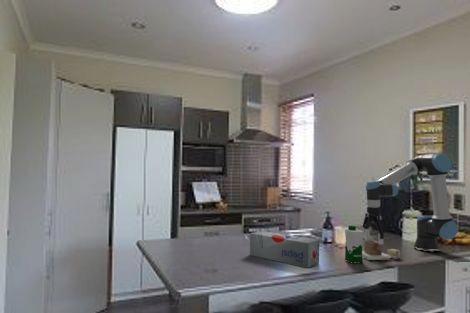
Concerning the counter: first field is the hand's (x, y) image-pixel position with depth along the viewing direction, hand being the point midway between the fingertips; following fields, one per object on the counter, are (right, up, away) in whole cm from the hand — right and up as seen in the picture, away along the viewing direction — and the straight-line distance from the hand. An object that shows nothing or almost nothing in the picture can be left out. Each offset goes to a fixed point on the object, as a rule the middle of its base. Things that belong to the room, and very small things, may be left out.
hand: (373, 241), depth 216 cm
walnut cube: (-1, -7, 0) cm, 7 cm away
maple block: (+11, -10, -1) cm, 15 cm away
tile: (-1, -9, 0) cm, 9 cm away
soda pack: (-56, -8, -9) cm, 58 cm away
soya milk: (-16, -9, -11) cm, 21 cm away
